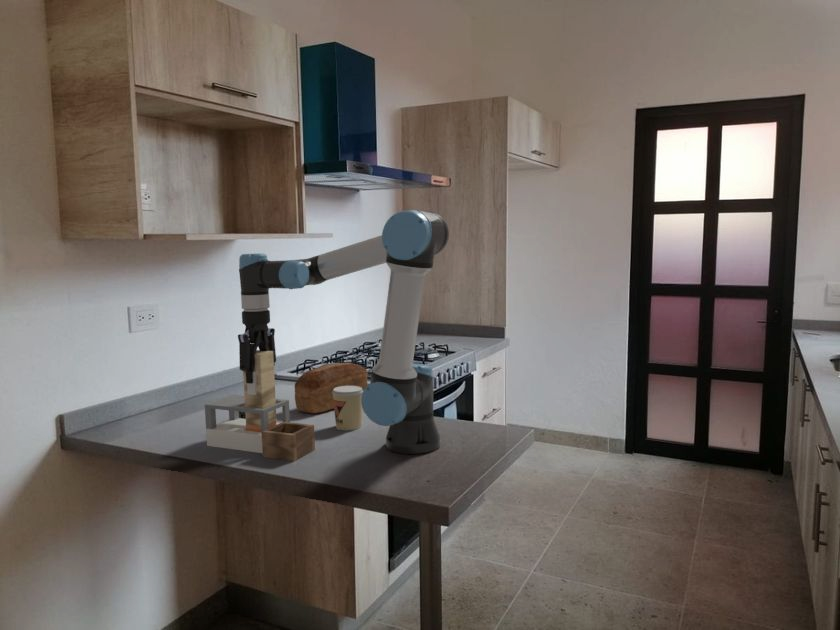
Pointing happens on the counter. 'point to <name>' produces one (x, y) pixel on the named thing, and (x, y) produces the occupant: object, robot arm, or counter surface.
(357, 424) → the coffee cup
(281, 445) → the holder
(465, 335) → the counter surface
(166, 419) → the counter surface
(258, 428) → the orange cube
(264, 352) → the tan wooden block
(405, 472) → the counter surface
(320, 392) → the bread
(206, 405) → the grey frame
